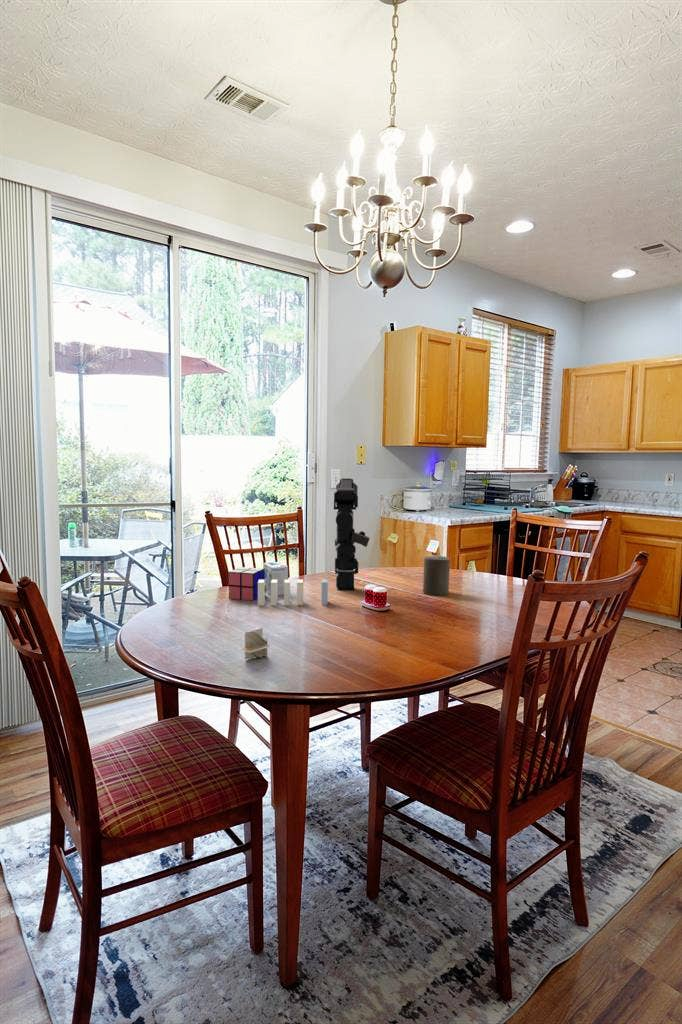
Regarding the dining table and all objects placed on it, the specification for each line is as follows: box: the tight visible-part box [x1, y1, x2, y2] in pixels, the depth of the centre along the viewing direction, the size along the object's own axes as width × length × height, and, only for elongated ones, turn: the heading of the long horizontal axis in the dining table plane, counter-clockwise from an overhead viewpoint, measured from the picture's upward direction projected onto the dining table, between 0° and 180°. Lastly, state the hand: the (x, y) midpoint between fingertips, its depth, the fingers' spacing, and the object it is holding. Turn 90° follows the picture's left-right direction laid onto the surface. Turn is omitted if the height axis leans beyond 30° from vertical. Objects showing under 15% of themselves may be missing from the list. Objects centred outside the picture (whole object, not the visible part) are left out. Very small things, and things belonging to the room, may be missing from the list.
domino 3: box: [283, 579, 291, 606], centre depth 204 cm, size 2×5×8 cm, turn 3°
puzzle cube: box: [228, 566, 265, 602], centre depth 213 cm, size 10×10×10 cm
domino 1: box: [257, 580, 266, 606], centre depth 203 cm, size 2×5×8 cm, turn 3°
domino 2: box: [270, 580, 279, 606], centre depth 204 cm, size 2×5×8 cm, turn 3°
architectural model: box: [241, 627, 271, 661], centre depth 147 cm, size 3×7×7 cm, turn 136°
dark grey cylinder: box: [422, 554, 451, 597], centre depth 222 cm, size 10×10×15 cm
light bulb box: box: [262, 561, 289, 596], centre depth 220 cm, size 11×7×11 cm, turn 25°
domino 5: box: [321, 579, 329, 606], centre depth 205 cm, size 2×5×8 cm, turn 3°
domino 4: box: [296, 579, 304, 606], centre depth 204 cm, size 2×5×8 cm, turn 3°
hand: (344, 569), depth 204 cm, fingers open, 3 cm apart
